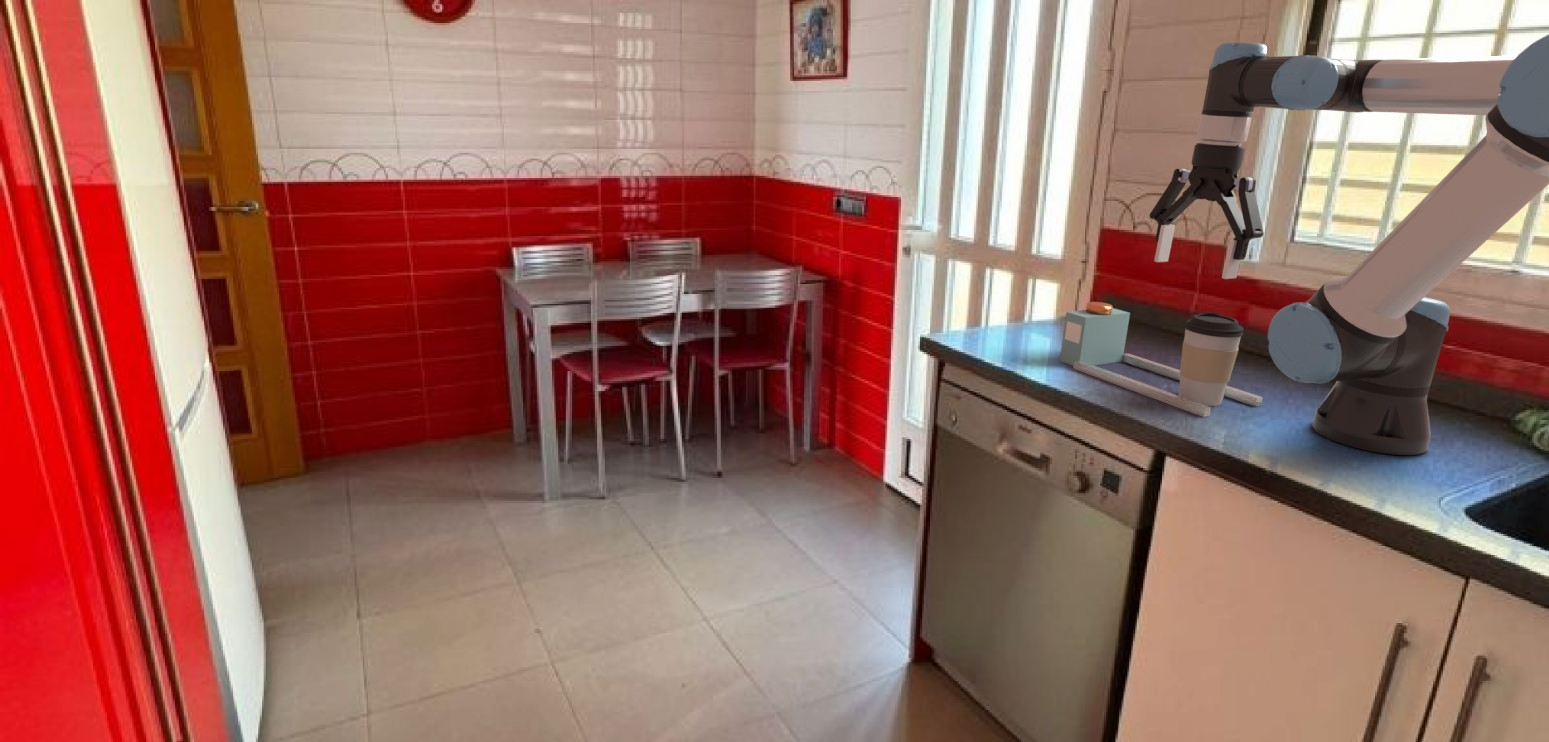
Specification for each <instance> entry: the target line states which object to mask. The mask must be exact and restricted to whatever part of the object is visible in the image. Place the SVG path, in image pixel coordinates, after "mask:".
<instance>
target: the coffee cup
mask: <svg viewBox="0 0 1549 742" xmlns="http://www.w3.org/2000/svg"><path fill="white" fill-rule="evenodd" d="M1184 330H1185V331H1184V338H1183V341H1182V351H1181V360H1180V367H1179V370H1180V381H1179V385H1178V394H1177V395H1178V396H1181V397H1184V398H1186V399H1189V400H1192V401H1195V402H1198V403H1200V404H1203V405H1206V406H1209V407H1214V406H1215V407H1217V406H1219V405H1222V403H1223V399H1224V397H1225V396H1224V393H1225V389H1226V386H1228V382H1230V380H1231V376H1232V372H1233V368H1234V366H1235V362H1236V359H1237V356H1238V353H1239V349H1240V348H1239V345H1240V341H1241V338H1242V336H1244V333H1243V331H1244V327H1243V326H1242V325H1239V321H1238V320H1237V319H1236V318H1233V317H1229V316H1225V315H1222V314H1220V313H1218V312H1214V311H1204V312H1201V313H1199V314H1194V315H1193V317H1191V318H1190V319H1188V320H1186V321H1185V324H1184Z"/></svg>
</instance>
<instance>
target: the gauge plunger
mask: <svg viewBox="0 0 1549 742" xmlns="http://www.w3.org/2000/svg"><path fill="white" fill-rule="evenodd" d="M1085 305H1086V306H1085V310H1086V311H1087V312H1089V313H1093V314H1098V315H1108V314H1111V313H1112V308H1114V307H1113V305H1112V304H1110V303H1107V302H1101V301H1100V302H1099V301H1090V302H1089V301H1087V302H1086V304H1085Z"/></svg>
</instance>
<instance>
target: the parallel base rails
mask: <svg viewBox="0 0 1549 742" xmlns="http://www.w3.org/2000/svg"><path fill="white" fill-rule="evenodd" d="M1121 362H1122V363H1126V364H1129V365H1132V366H1134V367H1138V368H1141V369H1144V370H1147V371H1149V372H1152V373H1156V374H1159V375H1161V376H1165V377H1167V378H1170V379H1173V380H1175V381H1179V382H1180V369H1177V368H1174V367H1171V366H1168V365H1165V364H1161V363H1159V362H1155V361H1152V360H1150V359H1147V358H1144V357H1141V356H1137V355H1134V354H1131V353H1129V352H1128V353H1124V354H1123V360H1122V361H1121ZM1072 369H1073V370H1076V371H1079V372H1081V373H1083V374H1087V375H1089V376H1092V377H1095V378H1097V379H1100V380H1102V381H1105V382H1108V383H1111V384H1114V385H1116V386H1119V387H1122V388H1125V389H1126V390H1130V391H1132V392H1135V393H1137V394H1141V395H1143V396H1145V397H1148V398H1151V399H1155V400H1156V401H1159V402H1161V403H1165V404H1167V405H1170V406H1173V407H1176V408H1178V409H1181V410H1184V411H1187V412H1188V413H1192V414H1194V415H1197V416H1200V417H1202V418H1205V417H1210V416H1211V411H1212V406H1206V405H1203V404H1200V403H1198V402H1195V401H1192V400H1189V399H1186V398H1184V397H1181V396H1178V394H1174V393H1172V392H1169V391H1167V390H1164V389H1161V388H1158V387H1155V386H1153V385H1150V384H1147V383H1144V382H1143V381H1142V382H1141V381H1139V380H1136V379H1133V378H1130V377H1127V376H1125V375H1121V374H1119V373H1117V372H1114V371H1111V370H1108V369H1105V368H1102V367H1099V366H1098V365H1091V364H1088V363H1086V362H1083V361H1080V360H1079V361H1074V366H1073V367H1072ZM1223 397H1226V398H1229V399H1232V400H1235V401H1237V402H1240V403H1244V404H1247V405H1249V406H1252V407H1259V406H1262V403H1263V402H1262V401H1263V398H1264V397H1263V396H1260V395H1258V394H1254V393H1251V392H1248V391H1245V390H1241V389H1239V388H1236V387H1232V386H1229V385H1227V386H1226V389H1225V393H1224V396H1223Z"/></svg>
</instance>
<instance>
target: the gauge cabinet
mask: <svg viewBox="0 0 1549 742" xmlns="http://www.w3.org/2000/svg"><path fill="white" fill-rule="evenodd" d="M1065 312H1066V314H1065V320H1064V328H1063V335H1062V343H1061V349H1060V356H1059V362H1062V363H1064V364H1067V365H1070V366H1074V361H1079V360H1080V361H1083V362H1086V363H1088V364H1091V365H1094V366H1099V365H1107V364H1112V363H1113V364H1114V363H1121V362H1123V361H1122V360H1123V354H1125V346H1126V342H1127V341H1126V340H1127V335H1128V330H1129V322H1130V315H1131V312H1128V311H1125V310H1121V309H1118V308H1114V307H1113V308H1112V313H1111V314H1108V315H1098V314H1093V313H1089V312H1087V311H1086V309H1083V310H1082V309H1081V310H1072V311H1065Z"/></svg>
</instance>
